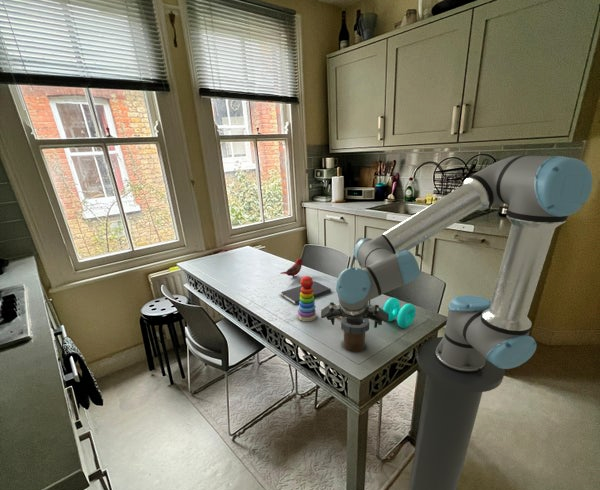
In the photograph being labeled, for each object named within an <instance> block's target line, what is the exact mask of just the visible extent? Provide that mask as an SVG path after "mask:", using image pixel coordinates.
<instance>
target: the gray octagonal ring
mask: <svg viewBox="0 0 600 490" xmlns="http://www.w3.org/2000/svg"><path fill="white" fill-rule="evenodd" d="M350 322H359V323H361V325H351V324H349V323H350ZM370 325H371V323H370V319H368V318H359V319H349V318H347V317H342V318H341V319H340V329H341V330H342V331H343V332H344V331H345V332H347V333H349V334H350V333H351V334H361V333H362V334H363V333H364V332H368V331H370Z"/></svg>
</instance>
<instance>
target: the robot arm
mask: <svg viewBox="0 0 600 490" xmlns="http://www.w3.org/2000/svg"><path fill="white" fill-rule="evenodd" d="M592 189H593V173H592V171H591V168H589V167H588V165H587V163H585V162H584V161H583V160H581V159H579V158H575V157H568V156H564V155H563V156H562V155H526V154H525V155H524V154H519V155H518V154H517V155H513V156H509V157H506V158H503V159H501V160H498V161H496V162H494V163H492V164H490V165H488V166H486V167H484V168H482V169H480V170H478V171H476V172H475V173H473V174H471V175H470V176H468V177H466V178H465V179H464V180H463V182H462V185H461V186H459V187H458V188H456V189H454V190H453V191H451V192H449V193H447V194H446V195H444V196H442V197H441V198H439V199H438V200H436V201H434V202H433V203H431V204H430V205H428V206H426V207H425V208H422V209H421V210H420V211H417V212H416V213H414V214H413V215H411V216H410V217H408V218H406V219H405V220H403V221H401V222H399V223H398V224H396V225H395V226H393V227H391V228H390V229H388V230H386V231H385V232H383V233H381V234H380V235H378V236H376V237H374V238H371V237H366V238H364V239H362V240H360V241H359V242H358V243H357V244H356V243H355V246H354V249H353V255H354V256H355V258H356V259H357V260H356V259H355V260H356V261H357V263H358V265H359V264H360V265H361V266H363V268H362V269H361V267H353V268H350V267H347V268H345V269H344V270H342V272H340V274H339V275H338V277H337V280H336V286H335V287H336V288H335V290H336V293H337V297H338V303H339V305H336V303H335V302H333V301H332V302H329V304H328V305H327V306H325V307H324V308H322V309H320V319H325V318H326V319H327V320H328V321H330V323H331V326H332V325H333V326H334V325H335V322H336V321H335V320H336V318H337V317H340V316H341V317H347V318H349V319H359V318H368V319H369V320H371V321H373V323H374V324H373V326H374V327H373V328H374V329H377V327H378V326H382V325H383V323H386V324H387V323H389V322H388V316H389V314H388V313H386V312H385V311H384V310H383V308H381V307H380V305H379V304H374V306H372V307H371V306H368V302H369V300H370V301H371V300H373V299H375V298H378V297H380V296H382V295H384V294H386V293H389V292H392V291H393V290H396V289H399V288H402V287H403V286H406V285H407V284H409V283H411V282H413V281H415V280H417V279H418V278H419V276H420V273H421V271H420V265H419V263H418V260H417V258H416V257H415V255H414V254H413V253H412V252H411V251H410V250H411V249H413V248H415V247H417V246H418V245H420V244H422V243H423V242H425V241H427V240H429V239H430V238H432V237H433V236H435V235H437V234H439V233H441V232H442V231H443V230H446V229H447V228H449V227H450V226H452V225H455V224H456V223H457V222H459V221H460V220H462V219H464V218H466V217H467V216H469V215H471V214H473V213H475V212H477V211H481V212H482V211H486V210H487V209H489V208H490V207H493V206H496V205H508V209H507V212H506V218H507V220H509V222H510V223H511V225H510V228H509V232H508V237H507V240H506V244H505V247H504V252H503V255H502V260H501V264H500V267H499V271H498V275H497V279H496V282H495V286H494V291H493V295H492V297H491V300H490V299H489V298H486V297H483V296H479V295H473V294H472V295H470V294H469V295H468V294H467V295H466V294H463V295H457V296H455V297H453V298H452V299H451V300H450V303H449V306H448V308H447V309H448V311H447V316H446V317H447V318H446V323H445V329H444V333H443V334H444V335H443V336H442V337H443V338H442V340H441V341H440V343H439V344H438V346H437V348H436V352H435V357H436V359H437V360H438V362H439V363H440V364H442V365H443V366H444V367H446V368H448V369H450V370H453V371H456V372H460V373H477V372H480V374H483V373H482V371H481V370H482V369H483V368H484V365H485V358H486V359H487V360H488V361H489V362H491V363H493V364H494V365H495V366H496V367H498V368H502V369H505V370H509V369H514V368H517V367H519V366H521V365H523V364H525V363H526V362H528V361H529V359H531V358H532V357H533V355H534V354H535V352H536V350H537V346H538V345H537V342H536V340H535V339H534V337H532V336H531V335H530V331H531V328H532V325H533V323H532V321H531V320H530V318H529V317H528V314H529V311H530V309H531V305H532V302H533V299H534V296H535V294H536V293H535V292H536V290H537V285H538V284H539V280H540V277H541V273H542V271H543V267H544V264H545V261H546V258H547V255H548V251H549V249H550V246H551V242H552V239H553V236H554V233H555V230H556V228H557V227H560V226H561V225H563V224H565V223H567V220H568V217H569V216H571V215H573V214H575V213H577V212H579V210H581V209H582V206H585V204H586V203H587V202H588V200H589V198H590V196H591V193H592ZM360 265H359V266H360Z"/></svg>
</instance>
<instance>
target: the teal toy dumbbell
mask: <svg viewBox="0 0 600 490" xmlns="http://www.w3.org/2000/svg"><path fill="white" fill-rule="evenodd" d="M382 310H384V311H385V312H386V313H388V314H389V316H388V322H387V323H390V322H392V321H394V320H395V319H396V321H397V325H398V327H400V328H401V329H407V328H409V327H410V326H411V325H412V323H413V322H414V319H415V317H416V313H417V311H416V307H415V305H414V304H413V303H405V304H404V305H402V307H401V303H400V300H399V299H398V298H397V297H391V298H388V299H387V301H385V302H384V304H383V307H382Z"/></svg>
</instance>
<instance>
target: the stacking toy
mask: <svg viewBox="0 0 600 490" xmlns="http://www.w3.org/2000/svg"><path fill="white" fill-rule="evenodd" d="M313 282H314V280H313V278H312V277H311V276H308V275H305V276H302V277H301V279H300V286H302V288H301V293H300V301H299V303H298V309H297V319H299V320H300V321H303V322H311V321H314V320H315V319H316V318H317V311H316V304H315V303H316V301H315V297H314V296H313V292H312V291H313V288H312V287H311V286H312V285H313Z"/></svg>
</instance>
